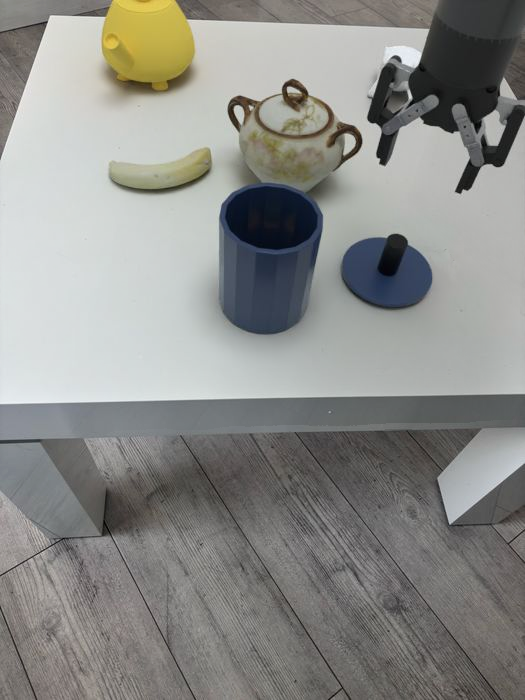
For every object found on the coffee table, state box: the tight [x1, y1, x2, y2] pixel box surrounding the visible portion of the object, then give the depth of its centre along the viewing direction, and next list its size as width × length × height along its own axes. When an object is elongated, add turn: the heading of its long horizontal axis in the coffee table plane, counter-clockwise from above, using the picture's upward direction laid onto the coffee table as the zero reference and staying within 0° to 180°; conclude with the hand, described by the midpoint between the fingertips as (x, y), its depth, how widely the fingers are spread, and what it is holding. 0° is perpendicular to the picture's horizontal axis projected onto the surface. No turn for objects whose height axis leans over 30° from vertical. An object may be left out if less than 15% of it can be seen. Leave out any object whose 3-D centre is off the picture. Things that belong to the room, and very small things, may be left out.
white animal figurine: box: [367, 45, 422, 102], centre depth 94 cm, size 9×8×15 cm
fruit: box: [108, 146, 213, 190], centre depth 78 cm, size 7×15×3 cm, turn 101°
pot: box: [218, 182, 324, 335], centre depth 62 cm, size 11×11×14 cm
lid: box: [341, 233, 433, 308], centre depth 69 cm, size 12×12×6 cm
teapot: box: [100, 0, 196, 92], centre depth 89 cm, size 20×16×14 cm
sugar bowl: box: [226, 78, 364, 194], centre depth 76 cm, size 20×15×15 cm
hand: (421, 175), depth 58 cm, fingers open, 8 cm apart
